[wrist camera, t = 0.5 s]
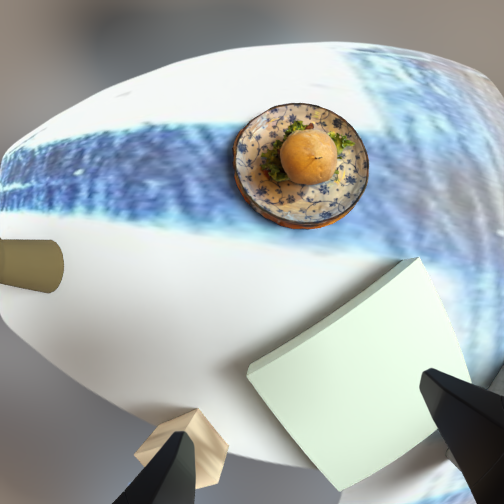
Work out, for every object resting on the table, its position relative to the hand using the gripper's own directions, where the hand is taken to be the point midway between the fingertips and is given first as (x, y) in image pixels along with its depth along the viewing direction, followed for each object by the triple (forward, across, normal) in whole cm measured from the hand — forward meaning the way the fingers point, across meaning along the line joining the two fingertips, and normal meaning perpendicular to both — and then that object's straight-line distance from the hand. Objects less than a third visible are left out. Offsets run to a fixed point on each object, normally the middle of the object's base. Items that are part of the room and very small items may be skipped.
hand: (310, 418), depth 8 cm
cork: (+18, +24, -5) cm, 30 cm away
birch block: (+10, +10, +13) cm, 19 cm away
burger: (+18, -5, -8) cm, 20 cm away
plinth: (+10, -7, +11) cm, 16 cm away
